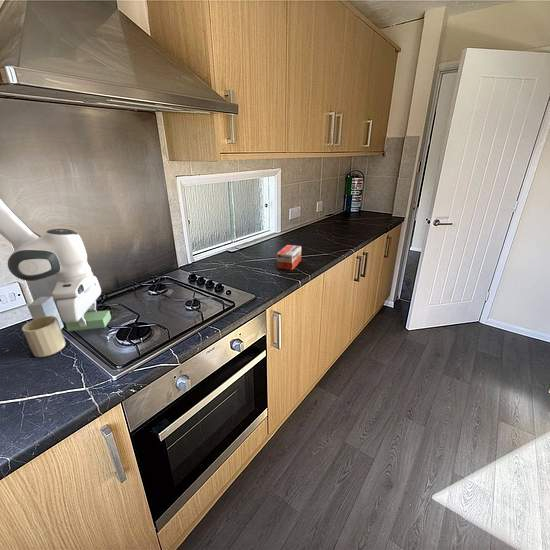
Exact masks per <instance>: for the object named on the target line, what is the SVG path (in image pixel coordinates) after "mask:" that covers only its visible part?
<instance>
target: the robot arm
mask: <svg viewBox="0 0 550 550" xmlns="http://www.w3.org/2000/svg"><path fill="white" fill-rule="evenodd" d="M0 235H1V236H2V237H3V238H4V239H6V240H7V241H8V242H9V244H11V245H12V247H13V252H12V253H11V254H10V256H9V258H8V260H7V268H8V270H9V272H10V273H11V274H12V275H13V276H14V277H16V278H17V279H20V280H21V281H25V282H26V281H27V282H35V281H39V280H43V279H46V278H49V277H51V276H54V275H56V277H57V280H56V284H55V286H54V288H53V290H52V292H51V295H52V297H53V300H56V308H57V310H58V313H59V315H60V318H61V321H62V322H63V323H73V322H78V323H79V325H80V327H86V325H87V324H88V322H87V319H86V320H85V319H84V318H83V317H84V314H85V313H86V312H97V301H96V300H97V299H98V298H99V297H100V296H101V295H102V288H101V285H100V283H99V280H98V278H97V277H96V275H94V272H93V271H92V267H91V266H90V264H89V262H88V253H87V250H86V247H85V244H84V242H83V239H82V237H81V236H80V234H79V233H78V232H76V231H75V230H72V229H68V228H52V229H49V230H46V232H44V233H43V234H42V235H40V234H38V233H37V232H35V231H34V230H32V229H31V228H30V227H29V226H28V225H27V224H26V222H24V221H23V219H21V218H20V217H19V216H18V215H17V214H16V213H15V212H14V211H13V210H12V209H11V208H10V207H9V206H8V205H7V204H5V202H4V201H3V200H2V199H1V198H0Z"/></svg>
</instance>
